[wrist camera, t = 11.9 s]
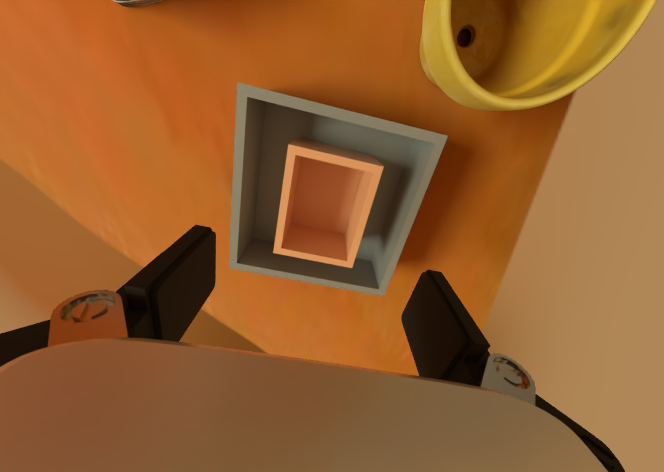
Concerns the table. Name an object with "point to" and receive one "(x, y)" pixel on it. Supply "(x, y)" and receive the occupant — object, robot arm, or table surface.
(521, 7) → the plant pot
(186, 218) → the table surface
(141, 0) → the lighter
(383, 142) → the grey crate
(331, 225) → the terracotta crate
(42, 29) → the table surface
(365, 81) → the table surface
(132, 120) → the table surface
